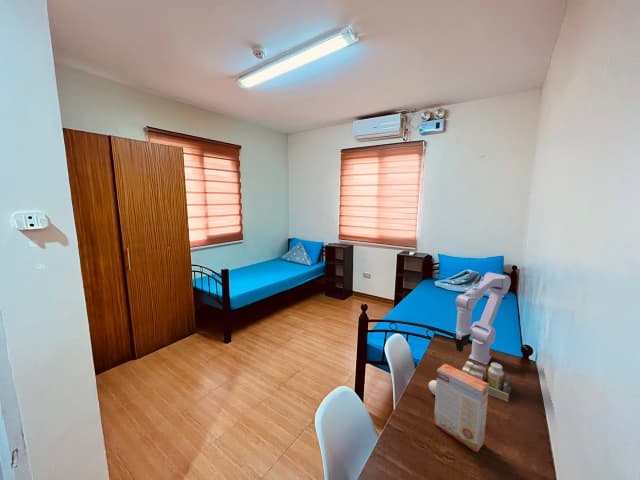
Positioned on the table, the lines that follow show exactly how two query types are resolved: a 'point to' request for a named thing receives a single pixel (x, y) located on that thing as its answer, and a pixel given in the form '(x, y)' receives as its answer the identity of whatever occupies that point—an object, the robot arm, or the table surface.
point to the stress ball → (432, 386)
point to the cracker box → (461, 406)
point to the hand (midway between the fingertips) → (461, 348)
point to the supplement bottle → (495, 376)
